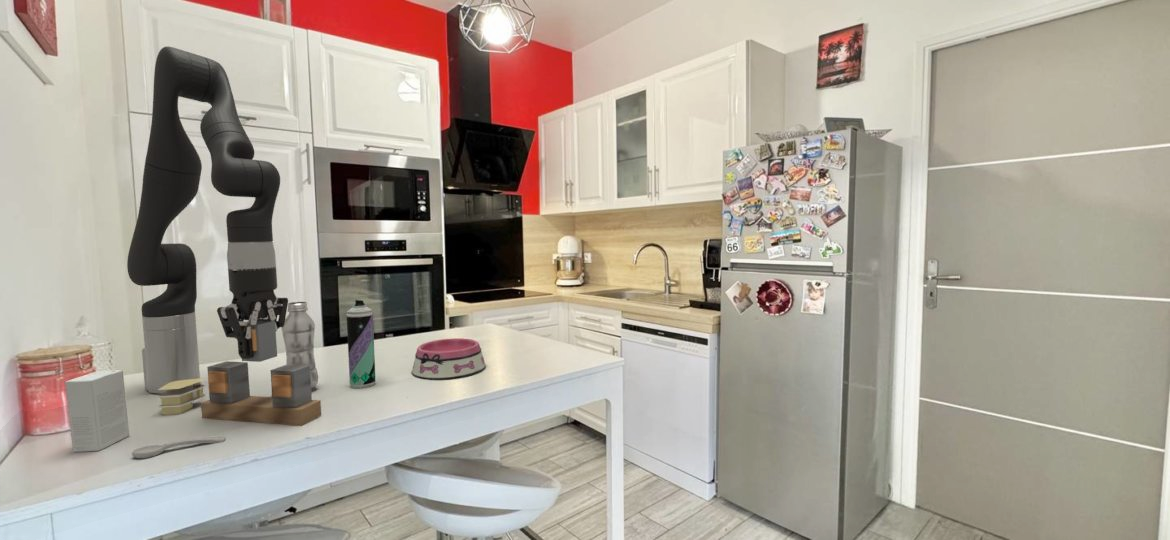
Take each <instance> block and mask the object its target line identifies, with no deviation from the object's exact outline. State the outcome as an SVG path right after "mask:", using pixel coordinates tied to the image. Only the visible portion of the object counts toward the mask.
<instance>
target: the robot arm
mask: <svg viewBox="0 0 1170 540" xmlns="http://www.w3.org/2000/svg"><path fill="white" fill-rule="evenodd" d="M152 97H153V98H152V111H151V112H152V114H151V124H150V125H151V126H150V131H149V139H148V144H147V149H146V150H147V151H146V156H145V160H144V161H145V162H144V167H143V174H142V186H141V194H140V203H139V207H138V208H139V209H138V213H137V220H136V222H135V227H134V231H133V234H132V238H131V240H130V241H131V242H130V247H129V250H128V254H127V264H126V265H127V266H126V268H127V274H128V277H129V279H130V281H131V282H132V283H133V284H135V285H137V286H141V287H145V286H146V287H148V286H149V287H151V286H152V287H153V286H160V285H161V286H162V285H167V286H166V289H165V290H164V291H163V292H162V293H161V294H160V295H158V296H156V297H154V298H152V299H150V300H148V301H145V302H143V304H142V305H141V319H142V321H141V322H142V331H143V342H144V348H142V350H141V358H142V368H143V369H142V370H143V381H144V391H148V392H149V393H150V394H162V393H164V392H166V391H167V390H169V389H167V390H158V389H160V388H161V387H163V386H165V385H166V384H168V383H170V382H174V381H179V380H188V379H197V378H201V370H200V360H199V358H200V357H199V344H198V333H197V332H198V331H197V318H196V317H197V316H196V302H197V295H198V293H197V292H198V290H197V289H198V288H197V287H198V286H197V274H198V273H197V261H196V260H197V259H196V256H195V253H194V252H193V251H194V250H192V248H191V247H190V246H189V245H187V244H186V243H185V244H184V243H162V242H163V239H164V236H165V233H166V231H167V229H168V227H169V226H170V225H171V224H172V222H173V221H174V220H175V219H176V218H177V217H178V216H179V215H180V214H181V213H182V212H183V211H184V210H185V209H186V208H187V207H188V206H189V205H190V203H192V201H193V200H194V199H195V197H196V196H197V194H198V193H199V192H198V191H199V187H200V181H201V175H202V171H203V169H202V167H203V165H202V160H201V157H200V155H199V153H198V152H197V150H196V148H195V146H194V144H193V142H192V140H191V139H190V137H189V135H188V134H187V132H186V130H185V128H184V126H183V123H182V122H181V118H180V113H179V107H178V106H179V98H183V99H188V100H192V101H197V102H201V103H208V104H209V105H210V106H211V107H210V108H209V109H208V110H207V111H206V112H205V113H204V114H203V117H202V118H201V121H200V124H199V125H200V126H199V129H200V134H201V137H202V139H203V141H204V143H205V145H206V146H205V147H206V148H207V149H208V152H209V153H210V154H209V155H210V158H211V160H210V161H211V171H210V177H211V178H210V180H211V185H212V186H213V188H214V189H215V190H216V191H217V192H219V193H220V194H222V195H224V196H227V197H233V198H234V197H235V198H236V197H237V198H238V197H240V198H254V202H253V204H252V205H251V207H248V208H244V209H236V210H233V211H229V212H228V213H227V215H226V219H225V221H226V224H225V225H226V230H227V231H226V236H227V251H226V258H227V259H226V260H227V261H226V262H227V271H228V272H227V275H228V288H229V291H230V292H231V293H232V296H233V298H232V299H231V303H230V304H228V305H226V306H220V307H217V310H216V312H217V315H218V318H219V321H220V323H221V324H220V325H221V326H222V330H223V332H224V334H225V336H226V338H232V339H236V340H237V351H238V352H237V353H238V356H239V357H240V358H241V360H242V359H250V358H253V345H252V339H250V338H251V336H252V330H253V327H254V326H255V325H256V322H257V321H275V329H276V332H278V329H280V328H281V327H283V326H284V324H285V319H286V317H287V312H288V303H289V299H288V297H279V296H278V297H277V296H276V294H275V290H276V289H278V276H277V275H278V274H277V261H276V251H275V247H274V246H275V245H274V242H273V241H274V238H273V237H274V236H273V235H274V234H273V215H274V211H275V210H274V209H275V206H276V201H277V198H278V196H279V195H278V194H279V190H280V186H281V176H280V172H279V171H278V168H277V167H276V165H274V164H273V163H272V162H270V161H267V160H260V159H259V160H258V159H254V157H255V149H254V146H253V143H252V141H251V140H250V138H249V136H248V134H247V133H246V130H245V129H244V127H243V125H242V122H241V120H240V118H239V114H238V111H237V105H236V102H235V99H234V95H233V90H232V88H231V83H230V80H229V77H228V75H227V71H226V70H225V68H224V67H223V66H222V64H221V63H220V62H218V61H216V60H214V59H211V58H208V57H205V56H202V55H201V54H200V55H199V54H196V53H192V52H190V51H185V50H183V49H179V48H176V47H174V46H173V47H172V46H163V47H162V48H161V49H160V50H159V52H158V54H157V56H156V59H155V64H154V73H153V96H152ZM277 319H278V320H277ZM244 327H245V332H243V329H244ZM195 384H196V383H195ZM197 384H201V382H198V383H197ZM192 385H193V384H192Z"/></svg>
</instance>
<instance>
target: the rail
mask: <svg viewBox="0 0 1170 540" xmlns="http://www.w3.org/2000/svg"><path fill="white" fill-rule="evenodd" d="M248 362H249V361H229V360H228V361H222V362H219V363H216V364H213V365H209V366H207V367H206V368H207V383H208V392H209V393H208V395H209V397H208V398H209V399H207V400H205V401H201V402H200V408H201V409H200V410H201V418H202V419H210V420H220V421H221V420H224V421H235V422H249V423H261V424H262V423H263V424H277V425H291V426H301V427H302V426H304V425H306V424H308V423H310V422H311V421H313V420H315V419H317V418H320V417H322V404H321V403H322V401H321V400H320V399H319V400H318V399H312V398H313V397H312V389H311V376H310V365H290V364H287V365H286V364H284V365H281V366H277V367H275V368H272V369H271V370H270V383H271V384H270V385H271V396H259V395H258V396H257V395H251V394H250V393H251V391H250V390H251V389H250V380H249V378H250V377H249V364H248Z"/></svg>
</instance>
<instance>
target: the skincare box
mask: <svg viewBox="0 0 1170 540" xmlns="http://www.w3.org/2000/svg"><path fill="white" fill-rule="evenodd" d="M124 380H125V379H124V370H122V369H121V370H120V369H119V370H118V369H116V370H113V369H112V370H96V371H94V372H90V373H88V374H85V375H81V376H78V377H75V378H72V379H69V380H66V381H65V382H64V384H65V385H64V386H65V393H66V402H67V410H68V419H69V420H68V421H69V422H68V423H69V428H70V429H69V430H70V438H71V439H70V440H71V446H72V452H74V453H80V452H81V453H82V452H99V451H101V450H103V449H105V448H107V447H110V446H111V445H113V444H115V443H118V442H119V441H122V439H125V438H127V437H129V436H130V428H129V427H130V426H129V418H128V409H127V407H128V406H127V399H126V389H125V388H126V387H125V381H124Z"/></svg>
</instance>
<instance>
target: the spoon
mask: <svg viewBox="0 0 1170 540" xmlns="http://www.w3.org/2000/svg"><path fill="white" fill-rule="evenodd" d="M226 440H227V438H226V436H225V435H215V436H202V437H193V438H192V437H191V438H185V439H179V440H175V441H171V442H168V443H165V444H153V445H147V446H146V445H145V446H142V447H138V448H136V449H133V450H132V452H131V455H132V456H133V458H136V459H148V458H152V457H156V456H158V455H160V454H161V453H162V452H164V451H165V450H168V449H170V448H174V447H178V446H186V445H194V444H218V443H223V442H225V441H226Z"/></svg>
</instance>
